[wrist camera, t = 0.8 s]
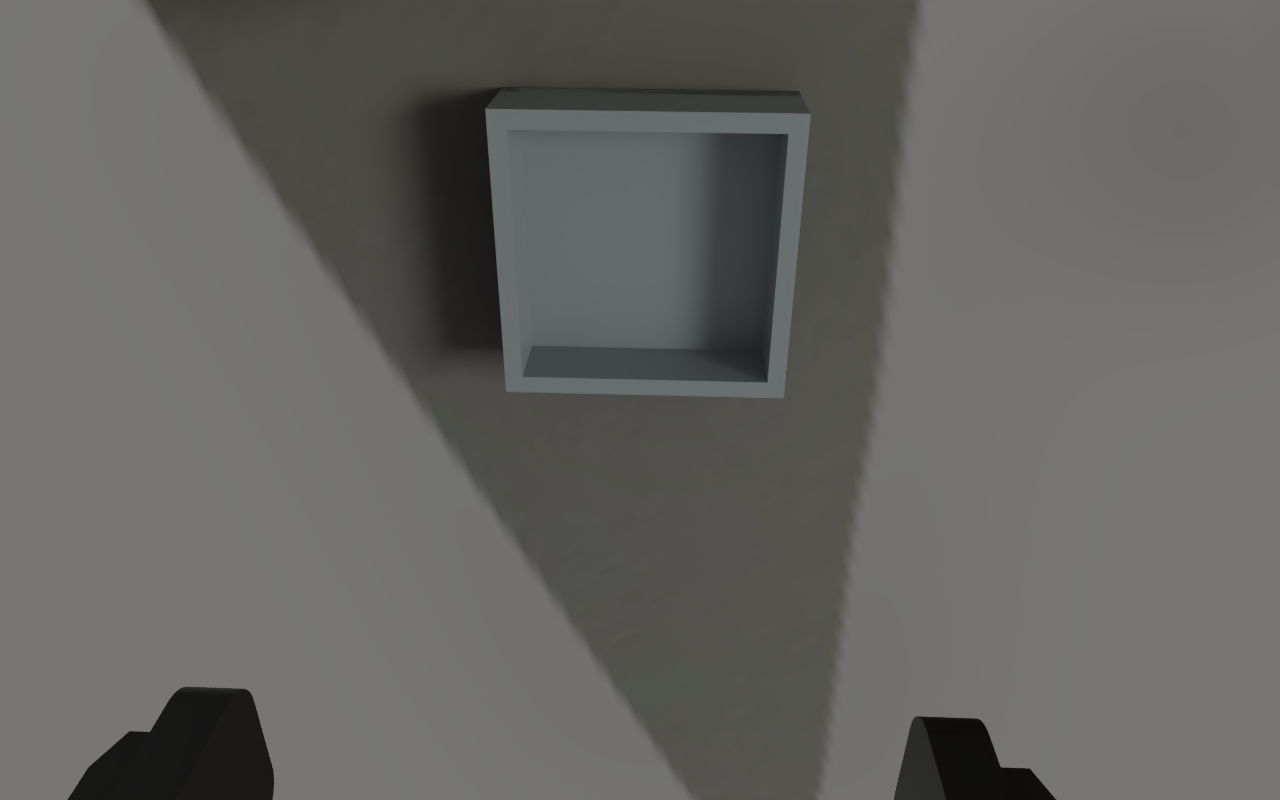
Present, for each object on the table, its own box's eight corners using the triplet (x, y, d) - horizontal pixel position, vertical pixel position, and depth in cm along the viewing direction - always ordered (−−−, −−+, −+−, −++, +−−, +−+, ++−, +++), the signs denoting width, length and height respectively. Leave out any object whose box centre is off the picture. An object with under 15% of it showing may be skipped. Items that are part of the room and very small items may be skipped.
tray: (502, 87, 25) (485, 109, 23) (799, 91, 25) (810, 113, 23) (519, 351, 29) (506, 391, 27) (775, 356, 29) (783, 398, 27)
